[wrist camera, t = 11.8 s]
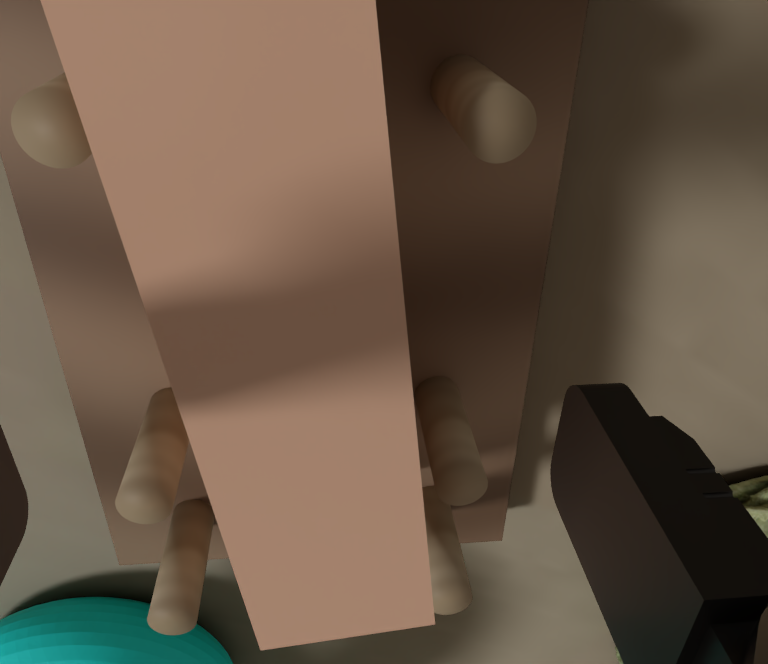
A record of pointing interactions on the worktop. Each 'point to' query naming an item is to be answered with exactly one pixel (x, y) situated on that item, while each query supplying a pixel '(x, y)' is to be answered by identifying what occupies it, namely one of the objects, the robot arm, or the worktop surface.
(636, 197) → the worktop surface
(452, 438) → the drying rack
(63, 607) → the donuts
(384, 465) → the pinkish tan rectangular block
